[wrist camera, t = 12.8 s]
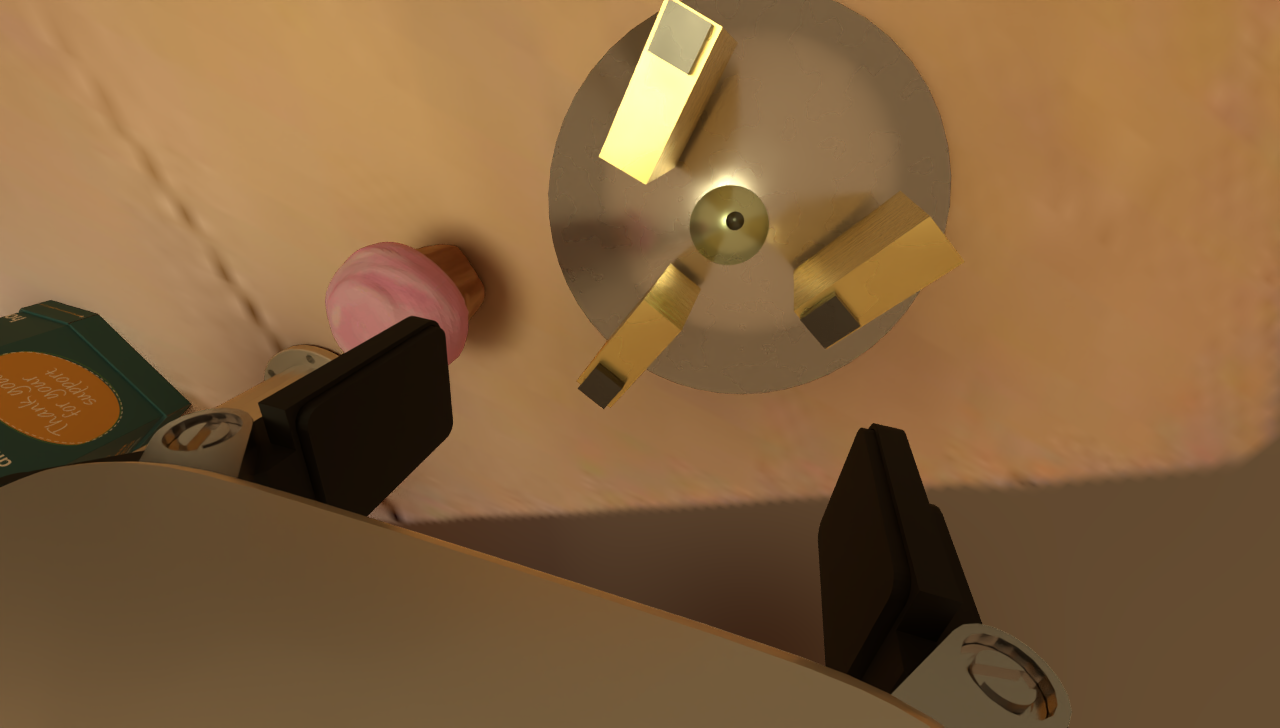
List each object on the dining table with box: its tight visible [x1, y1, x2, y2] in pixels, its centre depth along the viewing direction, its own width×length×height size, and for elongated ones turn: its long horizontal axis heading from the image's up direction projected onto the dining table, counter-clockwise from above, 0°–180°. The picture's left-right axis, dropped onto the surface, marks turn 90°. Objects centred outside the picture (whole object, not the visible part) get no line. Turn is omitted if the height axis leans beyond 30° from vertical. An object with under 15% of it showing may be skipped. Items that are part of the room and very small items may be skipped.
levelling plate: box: [548, 0, 951, 394], centre depth 29 cm, size 22×22×2 cm
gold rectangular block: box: [599, 0, 738, 184], centre depth 23 cm, size 6×2×7 cm, turn 154°
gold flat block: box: [793, 191, 964, 349], centre depth 24 cm, size 6×2×7 cm, turn 135°
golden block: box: [577, 263, 701, 409], centre depth 29 cm, size 6×2×7 cm, turn 144°
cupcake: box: [325, 242, 485, 365], centre depth 33 cm, size 9×9×10 cm
